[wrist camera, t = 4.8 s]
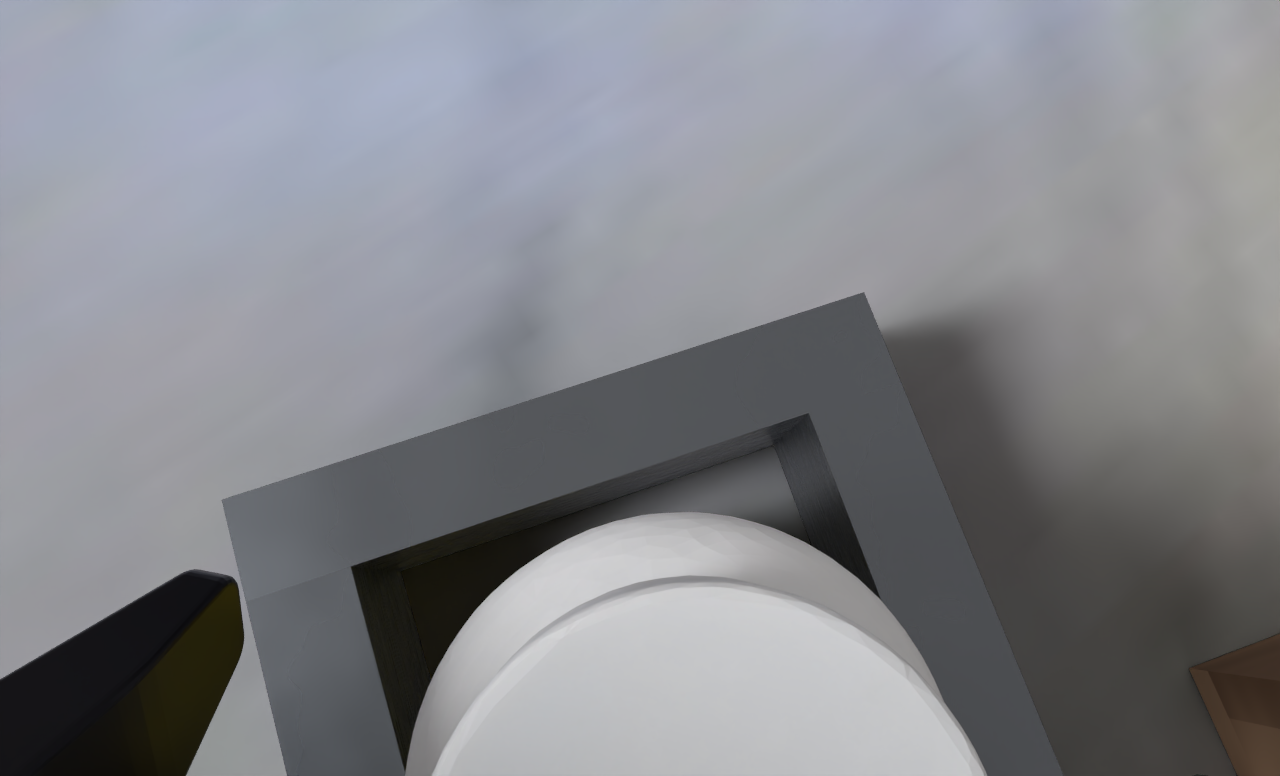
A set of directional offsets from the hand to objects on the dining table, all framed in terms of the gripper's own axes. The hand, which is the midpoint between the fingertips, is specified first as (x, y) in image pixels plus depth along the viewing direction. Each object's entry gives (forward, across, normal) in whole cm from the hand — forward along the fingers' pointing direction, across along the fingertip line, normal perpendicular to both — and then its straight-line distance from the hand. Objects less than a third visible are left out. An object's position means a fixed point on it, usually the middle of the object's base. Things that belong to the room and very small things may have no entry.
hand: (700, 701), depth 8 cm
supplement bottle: (+5, 0, +6) cm, 7 cm away
